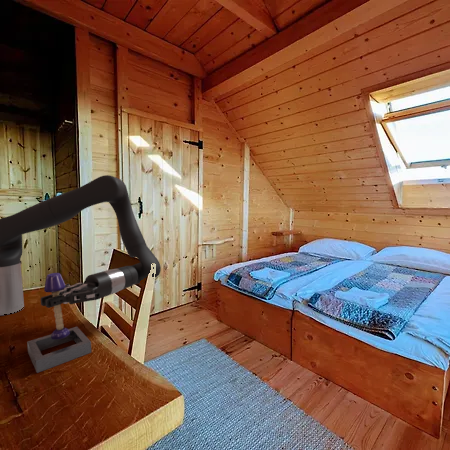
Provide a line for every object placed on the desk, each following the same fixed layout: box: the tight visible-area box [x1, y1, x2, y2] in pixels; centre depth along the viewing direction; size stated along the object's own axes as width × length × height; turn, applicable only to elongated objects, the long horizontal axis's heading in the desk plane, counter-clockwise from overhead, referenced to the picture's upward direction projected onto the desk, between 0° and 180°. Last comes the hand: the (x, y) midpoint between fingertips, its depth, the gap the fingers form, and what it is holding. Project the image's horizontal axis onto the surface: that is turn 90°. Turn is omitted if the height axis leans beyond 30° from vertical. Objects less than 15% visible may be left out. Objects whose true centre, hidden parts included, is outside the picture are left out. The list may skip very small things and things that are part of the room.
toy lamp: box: [43, 272, 70, 340], centre depth 70 cm, size 5×5×17 cm
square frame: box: [26, 326, 92, 374], centre depth 71 cm, size 12×12×3 cm
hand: (44, 302), depth 67 cm, fingers closed on toy lamp
